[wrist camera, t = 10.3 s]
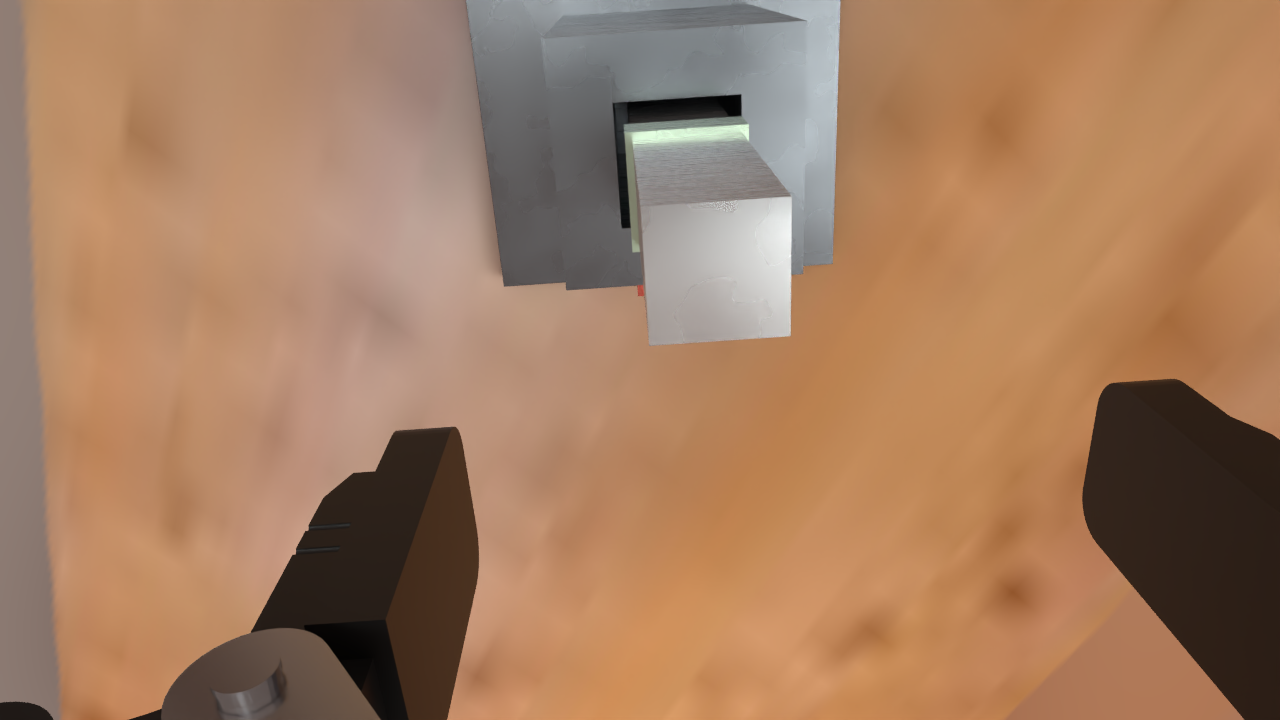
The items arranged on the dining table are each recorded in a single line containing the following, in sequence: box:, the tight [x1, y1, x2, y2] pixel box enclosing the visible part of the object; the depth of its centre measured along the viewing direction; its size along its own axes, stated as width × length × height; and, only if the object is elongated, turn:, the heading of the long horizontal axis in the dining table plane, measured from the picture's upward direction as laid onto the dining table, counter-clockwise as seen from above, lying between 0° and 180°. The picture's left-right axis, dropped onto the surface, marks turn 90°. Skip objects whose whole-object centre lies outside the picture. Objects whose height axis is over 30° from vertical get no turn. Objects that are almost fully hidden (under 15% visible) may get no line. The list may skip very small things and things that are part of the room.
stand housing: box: [466, 0, 840, 296], centre depth 34 cm, size 16×16×14 cm
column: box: [624, 96, 792, 346], centre depth 26 cm, size 3×3×18 cm
